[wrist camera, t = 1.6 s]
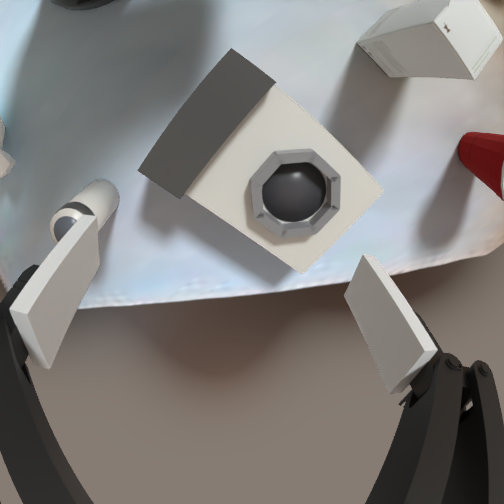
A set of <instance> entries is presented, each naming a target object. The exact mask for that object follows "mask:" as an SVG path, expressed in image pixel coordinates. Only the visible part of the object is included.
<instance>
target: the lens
mask: <svg viewBox="0 0 504 504" xmlns="http://www.w3.org/2000/svg"><path fill="white" fill-rule="evenodd" d="M118 204H119V193H118V190H117V188H116V187H115V186H114V185H113V184H112V183H111V182H110V181H108V180H105V179H97V180H95V181H93V182H91V183H90V184H89V185H88V186H87V187H85V188H84V189H83V190H82V191H81V192H79V193H78V194H77V195H76V196H75V197H74V198H73V199H71V200H70V201H69V202H68V203H67V204H65V205H64V206H63V207H62V208H61V209H60V210H59V211H57V212H56V214H55V215H54V216H53V217H52V219H51V222H50V233H51V237H52V239H53V241H54V242H55V244H56V245H57V244H58V243H59V241H60V240H61V239H62V238H63V237H64V235H65V234H66V233H67V232H68V231H69V230H70V229H71V227H72V226H73V225H74V224H75V223H76V222H77V221H78V220H79V218H80V217H81V216H82V215H83V214H84V215H92V216H97V224H98V232H99V231H100V229H101V228H102V227H103V225H104V224H105V223H106V221H107V220H108V219H109V218H110V216H111V215H112V214H113V212H114V211H115V210H116V208H117V207H118Z"/></svg>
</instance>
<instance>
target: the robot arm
mask: <svg viewBox="0 0 504 504" xmlns="http://www.w3.org/2000/svg"><path fill="white" fill-rule="evenodd" d="M51 1H52V2H54V3H55V4H57V5H59V6H62V7H65V8H67V9H72V10H87V9H92V8H96V7H100V6H102V5H105V4H107V3H110V2H112V1H114V0H51ZM99 267H100V257H99V244H98V224H97V216H92V215H84V214H83V215H82V216H81V217H80V218H79V220H78V221H77V222H76V223H75V224H74V225H73V226H72V227H71V229H70V230H69V231H68V232H67V233H66V234H65V235H64V237H63V238H62V239H61V240H60V241H59V243H58V244H57V245H56V246H55V247H54V249H53V250H52V251H51V252H50V254H49V255H48V256H47V257H46V259H45V260H44V261H43V262H42V264H41V265H40V266H38V265H32V266H31V267H29V268H28V269H26V270H25V271H24V272H23V273H22V274H21V276H20V277H19V278H18V281H16V282H15V284H14V285H13V288H11V289H10V290H9V292H8V293H7V295H6V296H5V298H4V299H3V300H2V302H1V303H0V451H1V454H2V456H3V459H4V462H5V464H6V467H7V469H8V472H9V474H10V476H11V479H12V481H13V483H14V485H15V487H16V490H17V492H18V494H19V496H20V498H21V500H22V502H23V504H94V503H93V502H92V501H91V499H90V497H89V496H88V494H87V493H86V491H85V490H84V488H83V487H82V485H81V483H80V482H79V480H78V479H77V477H76V475H75V473H74V472H73V470H72V468H71V466H70V465H69V463H68V461H67V459H66V457H65V456H64V454H63V452H62V450H61V448H60V446H59V444H58V442H57V440H56V438H55V436H54V434H53V431H52V429H51V427H50V425H49V423H48V421H47V418H46V416H45V413H44V411H43V409H42V406H41V404H40V402H39V399H38V396H37V393H36V391H35V388H34V385H33V382H32V380H31V377H30V374H29V370H28V367H27V365H26V363H25V361H26V359H27V356H28V354H29V356H30V358H31V360H32V362H33V364H35V365H38V366H41V367H44V368H47V369H50V368H51V365H52V363H53V361H54V358H55V356H56V354H57V351H58V349H59V346H60V344H61V342H62V340H63V338H64V335H65V333H66V331H67V329H68V327H69V325H70V322H71V320H72V318H73V316H74V314H75V312H76V310H77V308H78V306H79V304H80V302H81V300H82V298H83V296H84V294H85V292H86V291H87V289H88V287H89V285H90V283H91V281H92V279H93V277H94V276H95V274H96V272H97V270H98V268H99ZM344 297H345V299H346V301H347V303H348V305H349V307H350V309H351V311H352V313H353V315H354V317H355V319H356V322H357V324H358V326H359V328H360V330H361V332H362V335H363V337H364V339H365V341H366V343H367V345H368V347H369V350H370V352H371V354H372V357H373V359H374V361H375V363H376V366H377V368H378V370H379V373H380V375H381V377H382V379H383V382H384V384H385V387H386V389H387V391H388V394H394V393H400V392H403V391H404V389H405V388H406V387H407V386H408V385H409V384H410V385H411V387H412V390H411V391H410V392H409V393H408V394H407V396H405V397H404V399H403V400H402V401H401V402H400V403H399V405H400V406H401V405H402V404H403V403H404V402H406V403H405V406H404V410H403V413H402V416H401V419H400V422H399V425H398V428H397V431H396V433H395V436H394V439H393V442H392V444H391V447H390V450H389V452H388V454H387V457H386V460H385V462H384V464H383V467H382V469H381V471H380V473H379V476H378V478H377V480H376V482H375V484H374V487H373V489H372V491H371V493H370V495H369V497H368V499H367V501H366V503H365V504H504V424H503V419H502V413H501V408H500V403H499V399H498V394H497V390H496V386H495V382H494V378H493V374H492V372H491V369H490V368H489V366H488V365H487V364H486V363H485V362H482V361H479V360H477V361H475V362H474V363H473V364H472V366H471V367H470V368H469V367H464V366H462V364H461V362H460V361H459V360H458V359H457V357H455V356H454V355H452V354H449V353H443V351H442V350H441V348H440V347H439V345H438V343H437V342H436V340H435V338H434V337H433V335H432V334H431V332H429V329H428V327H427V326H425V325H426V324H425V323H424V321H423V320H422V318H421V317H420V316H419V315H418V314H417V313H416V312H415V311H414V310H413V309H412V308H411V307H410V305H409V304H408V302H407V301H406V299H405V298H404V296H403V295H402V294H401V292H400V291H399V289H398V288H397V286H396V285H395V283H394V282H393V281H392V279H391V278H390V276H389V275H388V274H387V272H386V271H385V269H384V268H383V267H382V265H381V264H380V263H379V261H378V260H377V259H376V257H375V256H371V255H364V254H363V255H362V258H361V260H360V262H359V264H358V267H357V269H356V271H355V273H354V276H353V278H352V280H351V282H350V284H349V287H348V289H347V291H346V293H345V295H344ZM471 401H472V403H473V406H472V407H471V408H470V409H469V410H466V406H467V405H468V404H469V402H471ZM0 504H1V503H0Z"/></svg>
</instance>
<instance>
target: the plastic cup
mask: <svg viewBox="0 0 504 504" xmlns="http://www.w3.org/2000/svg"><path fill="white" fill-rule="evenodd" d="M458 155H459V158H460V161H461V162H462V163H463V165H464V166H465V167H466V168H467V169H469V170H470V171H471V172H472V173H474V175H475V176H476V177H478V178H479V179H480V180H481V181H482V182H483V183H485V184H486V185H487V186H488V187H489V188H490V189H492V190H493V191H494V192H495V193H496V195H498V196H499V197H500V198H501V199H502V200H503V201H504V135H499V134H491V133H479V132H469V133H466V134H465V135H463V137H462V138H461V140H460V143H459V147H458Z"/></svg>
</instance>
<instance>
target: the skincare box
mask: <svg viewBox="0 0 504 504" xmlns="http://www.w3.org/2000/svg"><path fill="white" fill-rule="evenodd" d="M502 40H503V37H502V35H501V34H500V32H499V30H498V29H497V27H496V25H495V24H494V22H493V21H492V19H491V18H490V16H489V15H488V13H487V12H486V11H485V9H484V8H483V6H482V5H481V3H480V2H479V1H478V0H416V1H414V2H411V3H408V4H405V5H403V6H400V7H397V8H395V9H392V10H389V11H388V12H387V13H386V14H385V15H384V16H383V17H382V18H380V19H379V20H378V21H377V22H376V23H375V24H374V25H373V26H372V27H371V28H370V29H369V30H368V31H367V32H366V33H365V34H364V35H363V36H362V37H361V38H360V39H359V40H358V42H357V44H358V45H359V46H360V47H361V48H362V49H363V50H364V51H365V52H366V53H367V54H368V55H369V56H370V57H371V58H372V59H373V60H374V61H375V62H376V63H377V64H378V65H379V66H380V67H381V69H382V70H383V71H384V72H385V73H386V74H387V75H388V76H389V77H390V78H392V77H438V78H456V79H468V80H475V79H476V77H477V76H478V75H479V73H480V72H481V70H482V69H483V68H484V66H485V65H486V63H487V62H488V60H489V59H490V58H491V56H492V55H493V53H494V52H495V51H496V49H497V48H498V46H499V45H500V43H501V42H502Z"/></svg>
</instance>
